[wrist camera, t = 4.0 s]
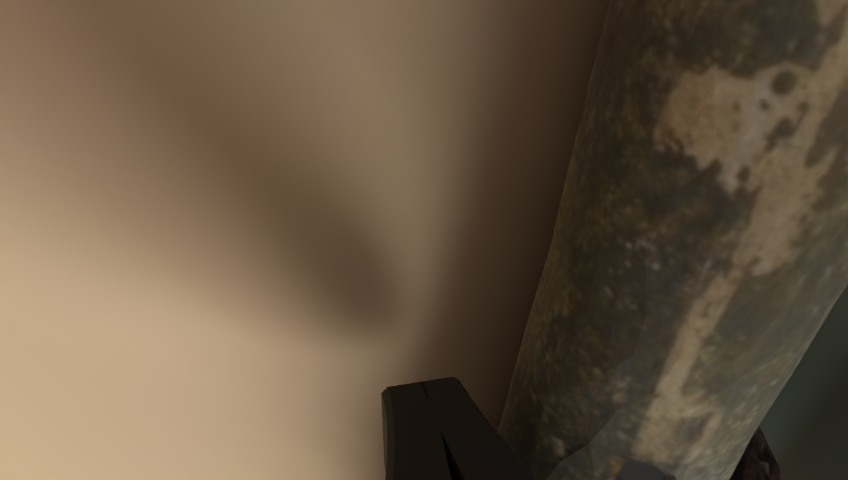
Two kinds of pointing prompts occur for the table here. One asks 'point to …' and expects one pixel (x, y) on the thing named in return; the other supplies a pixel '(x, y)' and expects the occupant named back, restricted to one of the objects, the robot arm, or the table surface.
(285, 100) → the table surface
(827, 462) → the dock
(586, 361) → the metal pipe
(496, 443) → the robot arm
